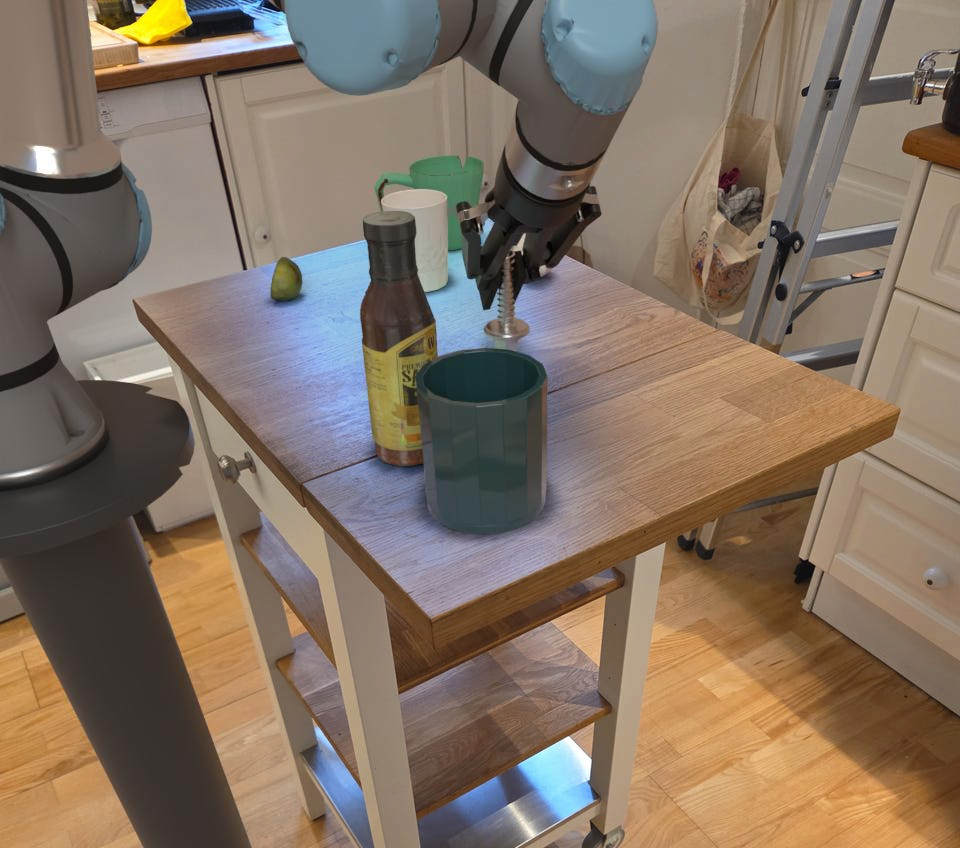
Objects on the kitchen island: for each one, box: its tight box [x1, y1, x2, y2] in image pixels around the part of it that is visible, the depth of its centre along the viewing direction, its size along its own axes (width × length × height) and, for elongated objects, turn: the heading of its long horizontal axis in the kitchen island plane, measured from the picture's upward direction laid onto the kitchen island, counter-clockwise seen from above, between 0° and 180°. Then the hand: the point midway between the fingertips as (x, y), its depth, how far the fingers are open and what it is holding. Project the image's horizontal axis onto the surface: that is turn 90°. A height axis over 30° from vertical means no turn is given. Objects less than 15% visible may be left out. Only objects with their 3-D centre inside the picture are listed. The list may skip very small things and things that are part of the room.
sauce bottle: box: [359, 211, 439, 467], centre depth 73 cm, size 6×6×20 cm
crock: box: [415, 347, 549, 535], centre depth 69 cm, size 10×10×11 cm
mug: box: [373, 154, 485, 251], centre depth 118 cm, size 15×10×10 cm
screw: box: [483, 246, 531, 352], centre depth 89 cm, size 13×5×5 cm
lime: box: [269, 256, 303, 302], centre depth 107 cm, size 4×5×5 cm
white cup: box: [381, 188, 449, 293], centre depth 108 cm, size 8×8×10 cm
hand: (495, 295), depth 93 cm, fingers closed on screw, 2 cm apart
